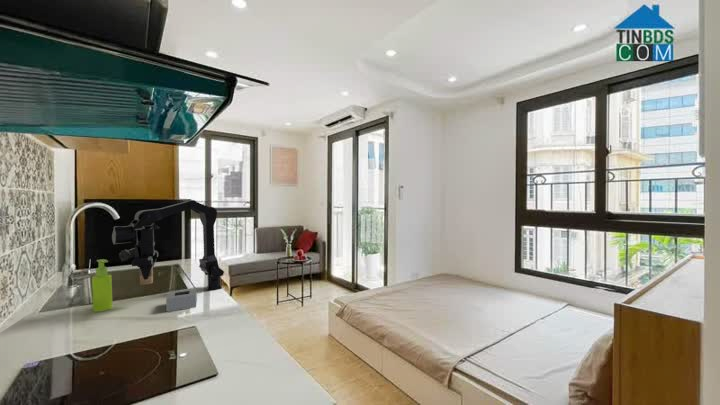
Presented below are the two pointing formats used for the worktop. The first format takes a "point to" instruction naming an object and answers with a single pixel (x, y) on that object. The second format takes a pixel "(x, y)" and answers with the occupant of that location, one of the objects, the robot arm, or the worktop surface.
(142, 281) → the tan rectangular block
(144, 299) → the worktop surface
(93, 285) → the soap dispenser
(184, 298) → the grey square socket block
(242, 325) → the worktop surface
